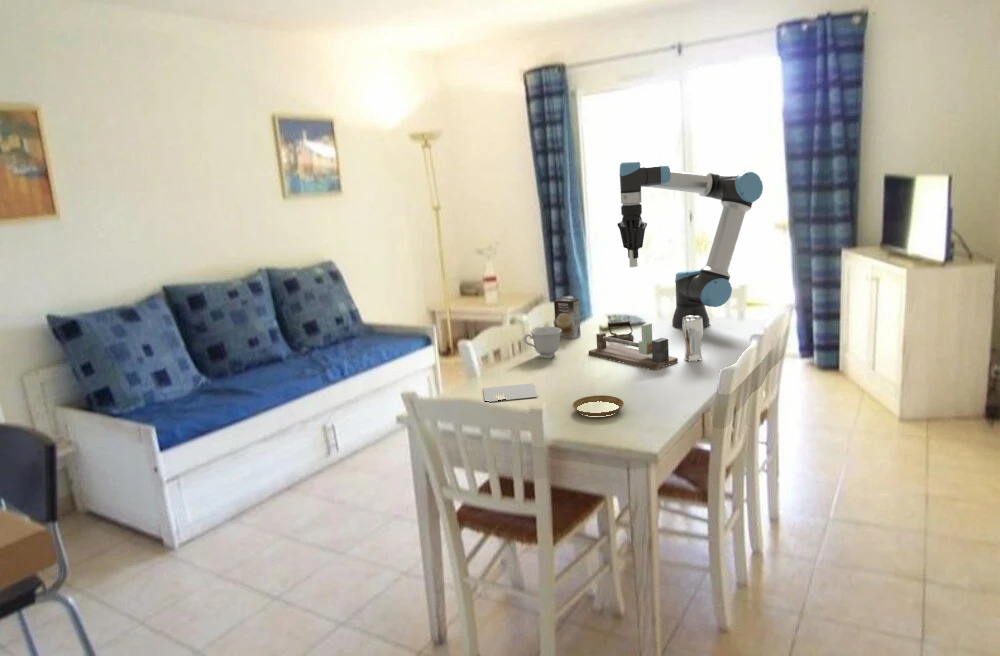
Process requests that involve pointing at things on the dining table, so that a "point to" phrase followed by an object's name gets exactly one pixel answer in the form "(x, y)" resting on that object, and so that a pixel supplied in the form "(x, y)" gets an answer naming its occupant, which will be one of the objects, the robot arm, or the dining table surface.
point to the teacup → (545, 340)
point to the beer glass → (692, 337)
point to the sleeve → (646, 339)
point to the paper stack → (510, 392)
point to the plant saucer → (599, 398)
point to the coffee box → (567, 317)
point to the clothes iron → (623, 336)
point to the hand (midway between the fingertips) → (633, 266)
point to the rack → (634, 352)
